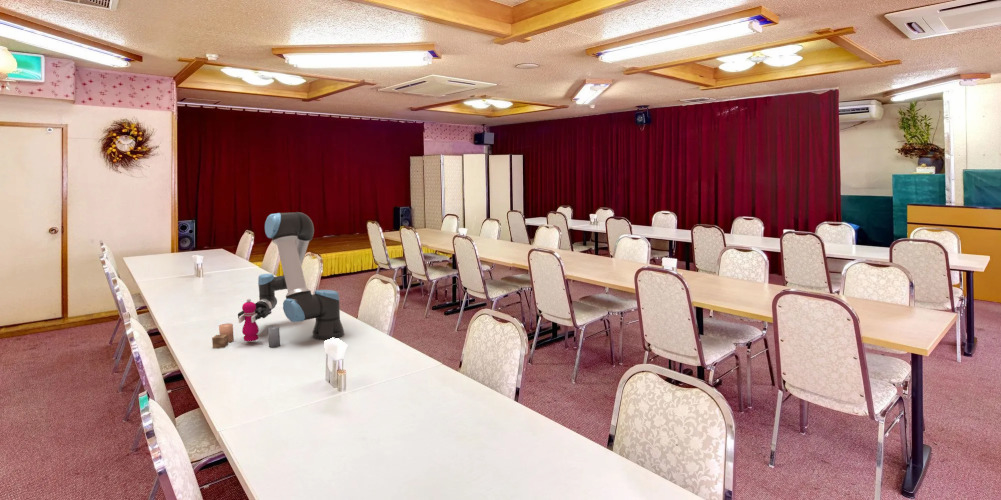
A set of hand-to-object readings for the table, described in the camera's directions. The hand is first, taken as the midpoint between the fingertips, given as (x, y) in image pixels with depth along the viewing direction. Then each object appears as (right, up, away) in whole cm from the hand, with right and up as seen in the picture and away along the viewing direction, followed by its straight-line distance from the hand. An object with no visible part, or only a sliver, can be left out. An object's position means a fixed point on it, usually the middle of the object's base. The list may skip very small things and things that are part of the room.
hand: (245, 320), depth 251 cm
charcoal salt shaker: (+12, -13, +3) cm, 18 cm away
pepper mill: (-1, -10, +7) cm, 12 cm away
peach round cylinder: (-14, -12, +10) cm, 21 cm away
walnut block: (-13, -13, +2) cm, 18 cm away
